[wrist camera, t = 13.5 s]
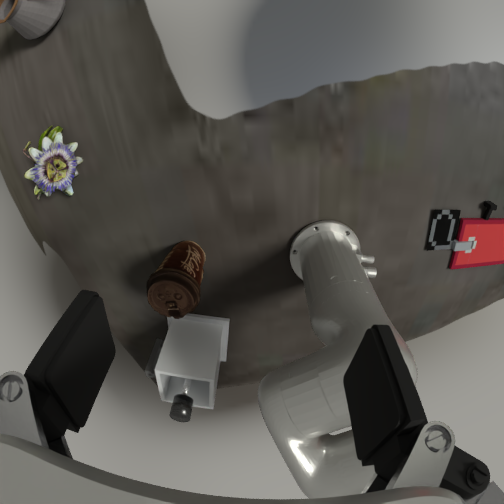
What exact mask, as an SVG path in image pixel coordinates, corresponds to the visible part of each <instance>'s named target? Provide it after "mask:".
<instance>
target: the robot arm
mask: <svg viewBox="0 0 504 504" xmlns="http://www.w3.org/2000/svg"><path fill="white" fill-rule="evenodd" d="M314 227H317V228H314ZM346 231H347V232H346ZM294 250H296V251H294ZM361 262H365V263H371V264H373V262H374V256H371V255H362V253H360V244H359V240H358V238H357V237H356V235H355V233H354V232H353V231H352V230H351V229H350V228H349V227H348V226H346V225H345V224H343V223H340V222H337V221H332V220H323V221H318V222H315V223H312V224H310V225H308V226H307V227H305V228H304V229H302V230H301V231H300V232H299V233H298V234H297V236H296V237H295V238H294V240H293V242H292V244H291V248H290V263H291V266H292V269H293V270H294V272H295V273H296V275H297V276H298V277H299V278H300V279H302V280H303V282H304V288H305V293H306V299H307V304H308V310H309V315H310V321H311V326H312V329H313V331H314V333H315V335H316V336H317V337H318V338H319V340H320V341H321V342H323V343H324V344H325V345H326V347H324V348H322V349H320V350H318V351H316V352H314V353H312V354H310V355H307V356H305V357H303V358H300V359H298V360H296V361H293V362H291V363H289V364H286V365H284V366H282V367H279V368H277V369H275V370H273V371H271V372H270V373H268V374H267V375H266V376H265V377H264V378H263V379H262V381H261V382H260V385H259V388H258V402H259V407H260V410H261V413H262V416H263V419H264V421H265V423H266V426H267V428H268V430H269V432H270V434H271V436H272V438H273V439H274V441H275V443H276V445H277V447H278V449H279V451H280V453H281V455H282V457H283V459H284V460H285V462H286V464H287V466H288V468H289V469H290V472H291V473H292V475H293V477H294V479H295V480H296V482H297V484H298V486H299V487H300V489H301V490H302V492H303V493H304V494H305V495H306V496H307V497H308V498H309V499H289V500H288V499H287V500H275V499H274V500H273V499H246V498H245V499H244V498H232V497H222V496H213V495H205V494H198V493H192V492H186V491H180V490H175V489H169V488H165V487H160V486H156V485H152V484H148V483H144V482H140V481H136V480H132V479H129V478H125V477H122V476H118V475H115V474H112V473H109V472H106V471H103V470H100V469H97V468H95V467H92V466H89V465H86V464H84V463H81V462H78V461H76V460H73V458H72V455H71V453H70V451H69V448H68V445H67V442H66V439H65V436H64V434H65V432H66V429H69V430H71V431H74V432H77V433H78V432H79V429H80V427H84V425H85V423H86V421H87V419H88V416H89V414H90V412H91V409H92V407H93V404H94V402H95V399H96V397H97V395H98V393H99V390H100V388H101V386H102V383H103V381H104V379H105V376H106V374H107V372H108V370H109V368H110V365H111V363H112V361H113V359H114V356H115V345H114V342H113V338H112V335H111V331H110V327H109V324H108V320H107V316H106V312H105V307H104V303H103V299H102V298H101V297H99V294H98V293H97V292H93V291H88V290H82V291H80V293H79V294H78V295H77V297H76V298H75V299H74V301H73V302H72V303H71V305H70V306H69V307H68V309H67V310H66V312H65V313H64V314H63V316H62V317H61V319H60V320H59V321H58V323H57V324H56V326H55V327H54V328H53V330H52V331H51V333H50V334H49V336H48V337H47V339H46V340H45V342H44V343H43V345H42V346H41V348H40V349H39V351H38V352H37V354H36V356H35V357H34V359H33V360H32V362H31V363H30V365H29V366H28V368H27V370H26V372H25V374H24V376H23V375H22V374H21V373H19V372H16V371H10V372H6V373H4V374H3V375H1V376H0V504H504V493H503V492H502V490H501V489H500V488H499V487H498V486H497V485H496V484H495V483H494V482H493V481H492V482H491V483H490V482H489V481H490V473H489V469H488V468H487V466H486V465H485V464H484V463H483V462H481V461H480V460H478V459H476V458H475V457H473V456H471V455H470V454H468V453H466V452H464V451H463V450H461V449H459V448H458V447H456V446H454V444H455V437H454V434H453V432H452V430H451V429H450V427H449V426H447V425H446V424H445V423H442V422H440V421H432V422H429V423H428V421H427V418H426V415H425V412H424V409H423V406H422V404H421V401H420V398H419V395H418V393H417V390H416V387H415V385H416V382H417V375H418V374H417V366H416V362H415V360H414V357H413V355H412V353H411V351H410V349H409V348H408V346H407V344H406V343H405V341H404V340H403V339H402V337H401V336H400V334H399V333H398V332H397V330H396V329H395V327H394V326H393V325H392V323H391V321H390V320H389V318H388V316H387V315H386V313H385V311H384V309H383V307H382V305H381V303H380V301H379V299H378V297H377V295H376V293H375V291H374V289H373V287H372V285H371V283H370V281H369V279H368V277H370V278H375V276H376V273H377V270H376V268H375V267H369V266H366V267H364V266H362V265H361ZM350 426H352V430H349V431H346V432H343V433H340V434H337V435H330V434H329V433H331V432H334V431H337V430H340V429H343V428H346V427H350Z"/></svg>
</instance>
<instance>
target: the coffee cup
mask: <svg viewBox="0 0 504 504" xmlns="http://www.w3.org/2000/svg"><path fill="white" fill-rule="evenodd" d="M205 260H206V259H205V253H204V251H203V250H202V248H201V247H200V246H199V245H198V244H197V243H195V242H193V241H183V242H180V243H178V244H176V245H175V246H174V247H173V249H172V250H171V251H170V253H169V254H168V255H167V256H166V257H165V259H164V261H163V262H162V263H161V265H160V266H159V267H158V269H157V270H156V271H155V273H153V274H152V275H151V276H150V278H149V279H148V281H147V297H148V302H149V304H150V305H151V307H152V308H153V309H154V310H155V311H157V312H159V314H161V315H164V316H167V317H169V318H170V317H173V318H174V319H180V318H183V317H184V316H185V315H186V314H187V313H188V312H193V311H194V310H195V308H196V307H197V306H198V303H199V301H200V285H201V281H202V279H203V273H204V270H203V265H204V262H205Z"/></svg>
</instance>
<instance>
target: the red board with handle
mask: <svg viewBox="0 0 504 504" xmlns="http://www.w3.org/2000/svg"><path fill="white" fill-rule="evenodd" d="M484 206H486V207H487V209H486V212H485V214H484V216H483V218H461V220H460V225H459V230H458V234H457V238H456V239H454V238H455V234H456V230H457V225H458V221H459V216H460V211H461V210H435V212H434V217H433V223H432V228H431V233H430V238H429V243H428V247H427V250H443V249H452V250H453V254H452V258H451V262H450V265H449V268H450V269H460V268H469V267H478V266H487V265H495V264H503V263H504V218H489V217H490V215H491V213H492V210H496V209H497V205H495V204H494V203H492V202H491V201H484Z"/></svg>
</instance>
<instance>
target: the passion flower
mask: <svg viewBox="0 0 504 504" xmlns="http://www.w3.org/2000/svg"><path fill="white" fill-rule="evenodd" d="M52 127H53V126H50V127H49V128H48V129H47V130H46V131H45V132H44V133H43V134H42V135H41V137H40V140H39V146H38V150H37V149H36V148H33V147H31V148H30V149H29V154H30V156H31V158H32V159H33V160H32V159H31V158H30V157H29V156H28V155H26V154H25V152H24V151H27V148H28V146H29V145H30V144H31V142H30V141H29V142H28V144H27V145H26V147H25V148H24V150H23V152H24V154H25V155H26V156H27V157H28V158H30V159H31V160H32V161H34V163H35V164H34V165H35V167H33V168H31V169H29V170H28V171H27V172H26V173H25V176H24V177H25V178H26V179H29V180H33V181H34V183H36V186H35V189H34V194H35V195H37V194H38V199H40V196H41V194H45V195H46V196H47V197H49V196H50V195H51V194H52V192H53V191H54V192H55V189H59V190H61V191H63V192H64V193H65V194H66V195H68V196H72V195H73V189H72V186H71V184H72V180H73V178H74V177H76V176H77V175H79V173H78V171H77V170H76V166H77V165H78V164H81V163H82V162H83V159H82V158H81V157H75V155H74V152H75V150H76V149H77V146H78V143H77V142H71V143H69V144H64V143H63V138H62V133H61V132H62V130H63V129H62V128H61V127H60V126H57V127H56V128H54V129H53V130H52V131H51V132H50V133H49V131H50V129H51V128H52ZM48 133H49V135H48V137H47V134H48ZM37 185H38V187H37Z"/></svg>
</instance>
